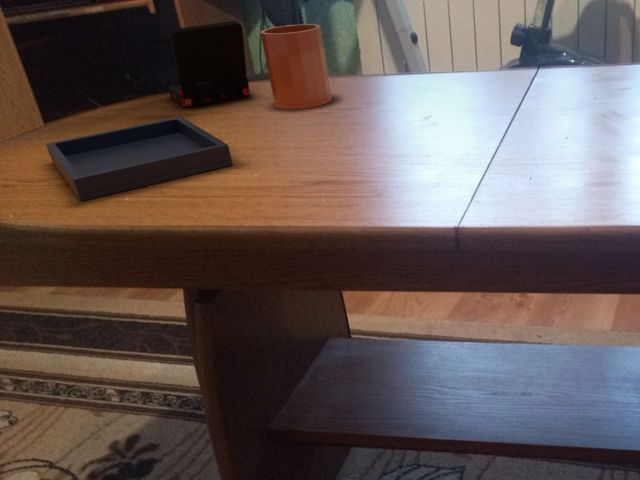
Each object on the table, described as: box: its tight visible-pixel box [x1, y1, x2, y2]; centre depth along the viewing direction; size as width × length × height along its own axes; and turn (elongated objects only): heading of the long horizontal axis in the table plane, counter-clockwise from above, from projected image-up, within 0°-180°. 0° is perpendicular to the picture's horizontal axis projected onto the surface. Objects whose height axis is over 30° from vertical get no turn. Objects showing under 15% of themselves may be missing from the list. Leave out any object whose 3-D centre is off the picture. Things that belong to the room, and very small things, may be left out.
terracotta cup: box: [260, 23, 333, 110], centre depth 94 cm, size 7×7×9 cm
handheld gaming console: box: [167, 20, 251, 108], centre depth 100 cm, size 9×12×10 cm
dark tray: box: [45, 116, 233, 202], centre depth 77 cm, size 17×15×2 cm
